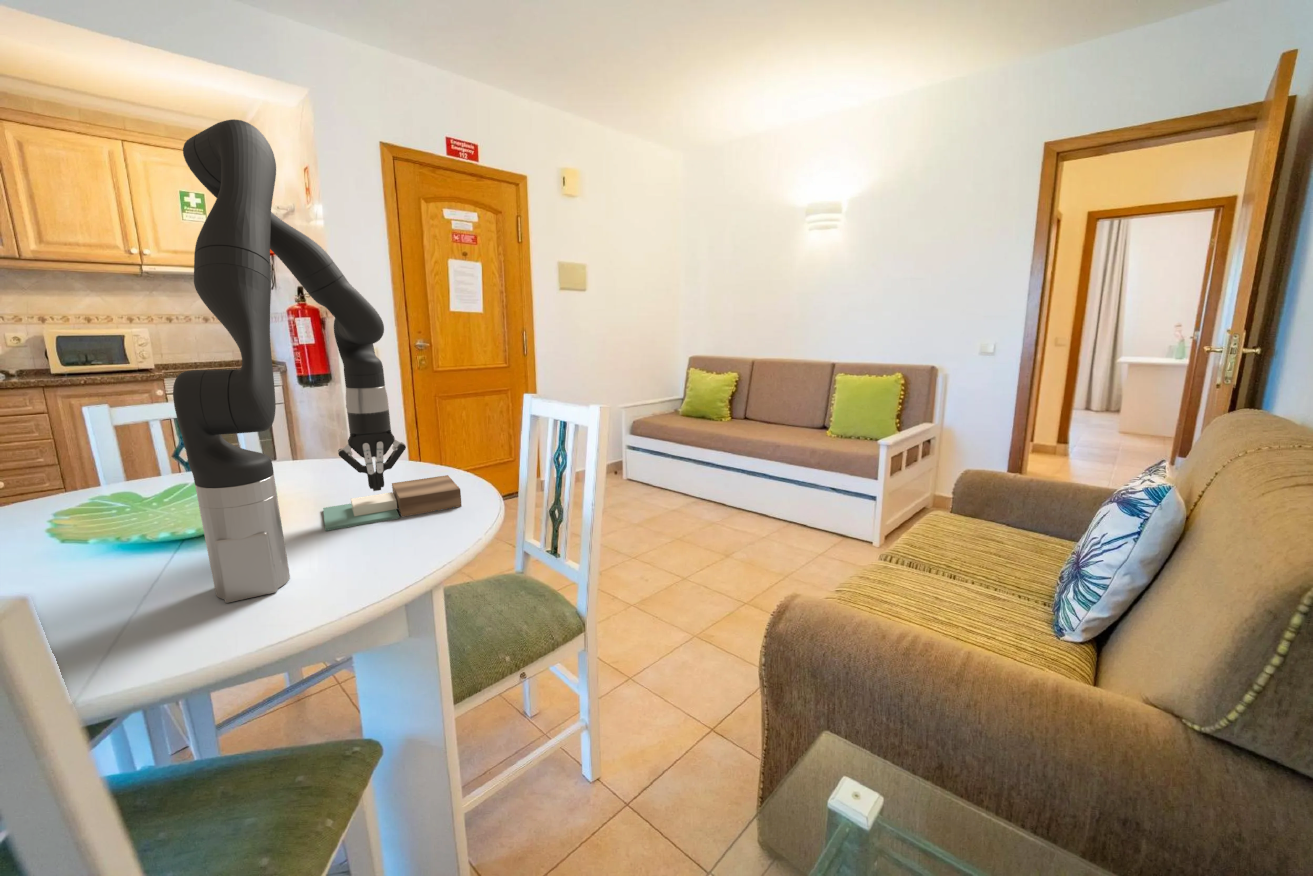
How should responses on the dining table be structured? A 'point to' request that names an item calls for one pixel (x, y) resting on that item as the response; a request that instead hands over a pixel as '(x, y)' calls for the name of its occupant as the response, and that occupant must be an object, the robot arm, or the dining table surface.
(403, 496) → the block
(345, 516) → the mat
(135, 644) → the dining table surface
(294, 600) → the dining table surface
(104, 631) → the dining table surface
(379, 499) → the cream flat block
